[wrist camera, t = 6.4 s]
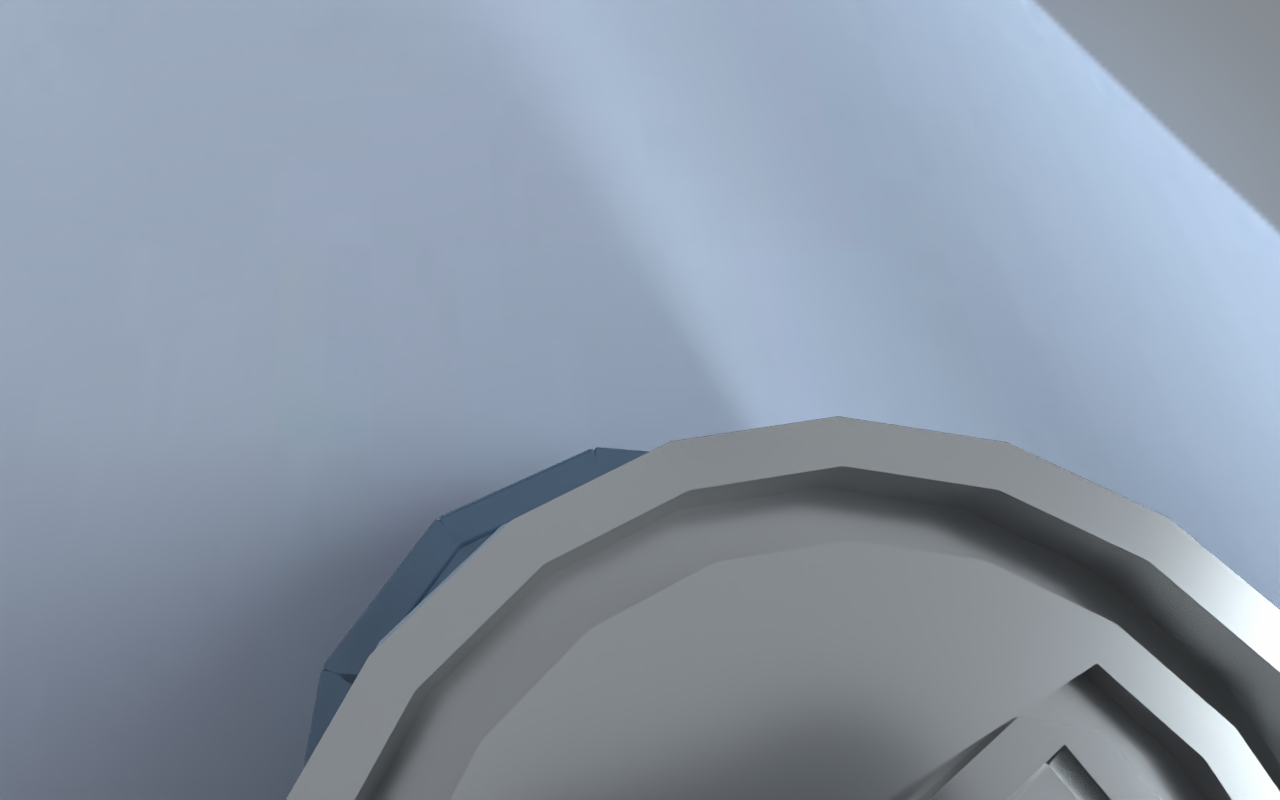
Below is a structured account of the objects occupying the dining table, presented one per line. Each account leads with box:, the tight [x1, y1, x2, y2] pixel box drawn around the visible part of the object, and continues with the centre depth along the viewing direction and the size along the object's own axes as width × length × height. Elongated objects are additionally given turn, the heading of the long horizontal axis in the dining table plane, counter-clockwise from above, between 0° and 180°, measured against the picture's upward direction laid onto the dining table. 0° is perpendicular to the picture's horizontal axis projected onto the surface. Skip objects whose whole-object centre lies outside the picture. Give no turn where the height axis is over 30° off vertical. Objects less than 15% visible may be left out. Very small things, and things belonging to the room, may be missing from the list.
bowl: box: [303, 447, 650, 769], centre depth 14 cm, size 10×10×4 cm
